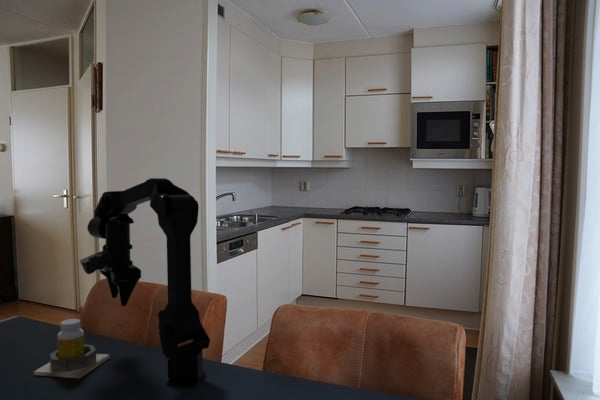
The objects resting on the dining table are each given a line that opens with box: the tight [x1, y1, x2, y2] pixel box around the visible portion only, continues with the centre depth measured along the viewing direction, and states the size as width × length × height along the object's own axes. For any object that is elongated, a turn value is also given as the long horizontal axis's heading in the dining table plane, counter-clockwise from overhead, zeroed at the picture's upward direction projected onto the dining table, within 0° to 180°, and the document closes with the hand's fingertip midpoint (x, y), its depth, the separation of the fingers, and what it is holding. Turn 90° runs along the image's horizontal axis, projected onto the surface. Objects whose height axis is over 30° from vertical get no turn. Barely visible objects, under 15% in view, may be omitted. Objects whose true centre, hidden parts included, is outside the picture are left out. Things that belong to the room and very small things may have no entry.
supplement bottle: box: [56, 318, 85, 359], centre depth 98 cm, size 5×5×10 cm
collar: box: [33, 344, 110, 379], centre depth 99 cm, size 11×11×3 cm
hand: (118, 301), depth 109 cm, fingers open, 9 cm apart
